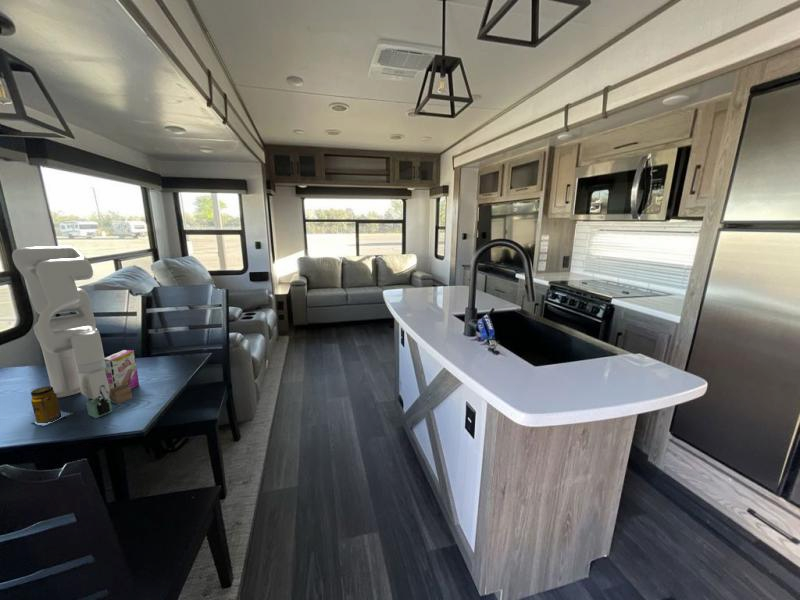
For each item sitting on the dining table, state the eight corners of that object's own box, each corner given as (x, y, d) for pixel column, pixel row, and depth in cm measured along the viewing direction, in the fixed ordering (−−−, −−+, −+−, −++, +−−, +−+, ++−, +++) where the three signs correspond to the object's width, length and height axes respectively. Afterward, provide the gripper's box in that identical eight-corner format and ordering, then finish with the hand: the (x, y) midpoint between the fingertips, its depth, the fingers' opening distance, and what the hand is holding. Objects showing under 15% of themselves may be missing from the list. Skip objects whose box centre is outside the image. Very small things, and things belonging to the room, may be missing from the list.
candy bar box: (117, 398, 130) (110, 360, 126) (105, 397, 130) (98, 359, 127) (140, 385, 141) (134, 349, 137) (129, 384, 141) (123, 349, 137)
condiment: (30, 423, 113) (22, 392, 110) (60, 410, 121) (53, 381, 118) (44, 427, 111) (36, 395, 108) (74, 414, 119) (67, 384, 116)
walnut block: (110, 401, 128) (108, 389, 127) (125, 395, 132) (123, 384, 131) (117, 404, 126) (115, 392, 125) (132, 398, 130) (130, 387, 129)
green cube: (88, 414, 118) (85, 402, 116) (105, 407, 122) (103, 395, 121) (95, 418, 116) (93, 405, 114) (112, 411, 120) (110, 399, 119)
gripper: (65, 364, 115) (75, 410, 119) (89, 374, 108) (99, 423, 112) (92, 357, 121) (101, 400, 125) (116, 366, 114) (125, 412, 118)
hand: (100, 410), depth 119 cm, fingers closed on green cube, 4 cm apart
